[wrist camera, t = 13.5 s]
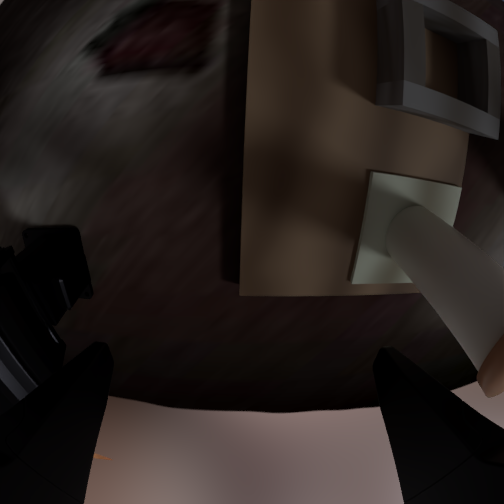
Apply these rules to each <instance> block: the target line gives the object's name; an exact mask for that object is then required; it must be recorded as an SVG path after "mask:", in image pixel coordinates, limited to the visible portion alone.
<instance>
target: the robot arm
mask: <svg viewBox="0 0 504 504" xmlns="http://www.w3.org/2000/svg"><path fill="white" fill-rule="evenodd" d="M73 233H74V234H75V236H74V235H73ZM27 234H28V235H27ZM22 235H23V240H24V244H25V249H23V250H22V251H21V252H20V253H19V254H17V255H16V256H15V255H14V250H13V247H12V245H11V246H8V247H6V248H4V247H3V248H2V247H0V504H83V503H84V500H85V494H86V489H87V484H88V479H89V474H90V469H91V464H92V460H93V455H94V451H95V447H96V443H97V438H98V435H99V431H100V427H101V423H102V420H103V416H104V412H105V409H106V405H107V400H108V394H109V388H110V382H111V377H112V372H113V366H114V361H113V358H112V355H111V352H110V350H109V347H108V345H107V344H106V343H104V342H94V343H92V344H91V345H90V346H89V347H87V348H86V349H85V350H83V351H82V352H81V353H80V354H78V355H77V356H76V357H74V358H73V359H72V360H71V361H69V362H68V363H67V364H65V365H64V366H63V360H64V355H65V350H66V344H65V343H64V341H63V340H62V339H60V337H59V335H58V334H57V332H56V331H55V329H54V328H53V326H52V325H57V324H58V322H59V321H60V319H61V318H62V316H63V315H64V313H65V312H66V311H67V310H70V309H71V308H72V307H73V305H74V304H75V302H76V301H77V299H78V298H84V299H90V298H91V297H92V296H93V289H92V285H91V278H90V274H89V270H88V266H87V261H86V257H85V254H84V251H83V246H82V241H81V236H80V232H79V230H78V229H77V228H27V229H25V230H24V231H23V233H22ZM87 292H88V293H89V294H88V293H87ZM62 366H63V367H62ZM373 373H374V378H375V383H376V388H377V394H378V399H379V404H380V409H381V412H382V415H383V419H384V423H385V426H386V430H387V434H388V436H389V441H390V445H391V448H392V453H393V457H394V460H395V464H396V469H397V473H398V477H399V482H400V486H401V490H402V496H403V500H404V504H504V429H503V428H502V427H500V426H498V425H497V424H495V423H493V422H492V421H490V420H489V419H487V418H486V417H484V416H483V415H481V414H480V413H478V412H477V411H476V410H474V409H473V408H472V407H470V406H469V405H468V404H466V403H465V402H464V401H462V400H461V399H460V398H459V397H458V396H456V395H455V394H454V393H452V392H451V391H450V390H449V389H447V388H446V387H445V386H443V385H442V384H441V383H440V382H438V381H437V380H436V379H434V378H433V377H432V376H430V375H429V374H428V373H427V372H425V371H424V370H423V369H421V368H420V367H419V366H418V365H416V364H415V363H414V362H412V361H411V360H410V359H408V358H407V357H406V356H404V355H403V354H402V353H401V352H399V351H398V350H397V349H395V348H394V347H392V346H387V347H382V348H381V349H380V350H379V352H378V354H377V357H376V359H375V361H374V363H373Z"/></svg>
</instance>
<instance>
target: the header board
mask: <svg viewBox="0 0 504 504" xmlns="http://www.w3.org/2000/svg"><path fill="white" fill-rule="evenodd" d="M500 109H501V69H500V53H499V42H498V34H497V30H495V29H494V28H493V27H491V26H490V25H488V24H487V23H485V22H484V21H482V20H481V19H479V18H478V17H476V16H475V15H473V14H471V13H470V12H468V11H466V10H465V9H463V8H461V7H460V6H458V5H456V4H454V3H453V2H451V1H449V0H251V11H250V29H249V47H248V67H247V88H246V110H245V133H244V158H243V186H242V215H241V247H240V284H239V289H240V296H341V295H376V294H400V293H420V290H419V289H418V288H417V287H416V286H415V284H414V283H413V282H412V281H411V279H410V278H409V277H408V276H407V275H406V273H405V272H404V271H403V270H402V269H401V268H400V266H399V265H398V264H397V263H396V262H395V261H394V260H393V258H392V257H391V256H390V255H389V253H388V251H387V248H386V234H387V230H388V228H389V225H390V223H391V222H392V220H393V219H394V218H395V216H396V215H397V214H398V213H399V212H401V211H402V210H404V209H405V208H408V207H411V206H422V207H425V208H426V209H428V210H429V211H431V212H432V213H434V214H435V215H436V216H438V217H439V218H441V219H442V220H444V221H445V222H446V223H448V224H449V225H450V226H452V227H453V224H454V220H455V216H456V212H457V208H458V203H459V199H460V194H461V189H462V188H461V185H462V180H463V174H464V168H465V162H466V155H467V147H468V139H469V133H471V134H475V135H480V136H484V137H488V138H492V139H496V140H498V137H499V126H500Z"/></svg>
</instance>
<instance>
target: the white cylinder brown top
mask: <svg viewBox="0 0 504 504" xmlns="http://www.w3.org/2000/svg"><path fill="white" fill-rule="evenodd" d="M386 248H387V251H388V253H389V255H390V256H391V257H392V258H393V260H394V261H395V262H396V263H397V264H398V265H399V266H400V268H401V269H402V270H403V271H404V272H405V273H406V275H407V276H408V277H409V278H410V279H411V281H412V282H413V283H414V284H415V286H416V287H417V288H418V289H419V290H420V292H421V293H422V294H423V295H424V297H425V298H426V299H427V300H428V302H429V303H430V304H431V306H432V307H433V308H434V309H435V311H436V312H437V313H438V315H439V316H440V317H441V319H442V320H443V321H444V323H445V324H446V325H447V327H448V328H449V329H450V331H451V332H452V334H453V335H454V336H455V338H456V339H457V341H458V342H459V343H460V345H461V346H462V348H463V349H464V351H465V352H466V354H467V355H468V357H469V358H470V360H471V361H472V363H473V364H474V366H475V367H476V369H477V370H478V374H477V381H478V383H479V385H480V387H481V388H482V390H483V391H484V393H485V395H486V396H487V397H489V398H490V397H494V396H496V395H498V394H500V393H502V392H503V391H504V268H503V267H502V266H501V265H499V264H498V263H497V262H496V261H495V260H494V259H492V258H491V257H490V256H489V255H488V254H486V253H485V252H484V251H483V250H482V249H480V248H479V247H478V246H477V245H475V244H474V243H473V242H472V241H470V240H469V239H468V238H466V237H465V236H464V235H462V234H461V233H460V232H459V231H457V230H456V229H454V228H453V227H452V226H450V225H449V224H448V223H446V222H445V221H444V220H442V219H441V218H439V217H438V216H436V215H435V214H434V213H432V212H431V211H429V210H428V209H426V208H425V207H422V206H411V207H408V208H405V209H404V210H402V211H401V212H399V213H398V214H397V215H396V216H395V218H394V219H393V220H392V222H391V223H390V225H389V228H388V230H387V234H386Z"/></svg>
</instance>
